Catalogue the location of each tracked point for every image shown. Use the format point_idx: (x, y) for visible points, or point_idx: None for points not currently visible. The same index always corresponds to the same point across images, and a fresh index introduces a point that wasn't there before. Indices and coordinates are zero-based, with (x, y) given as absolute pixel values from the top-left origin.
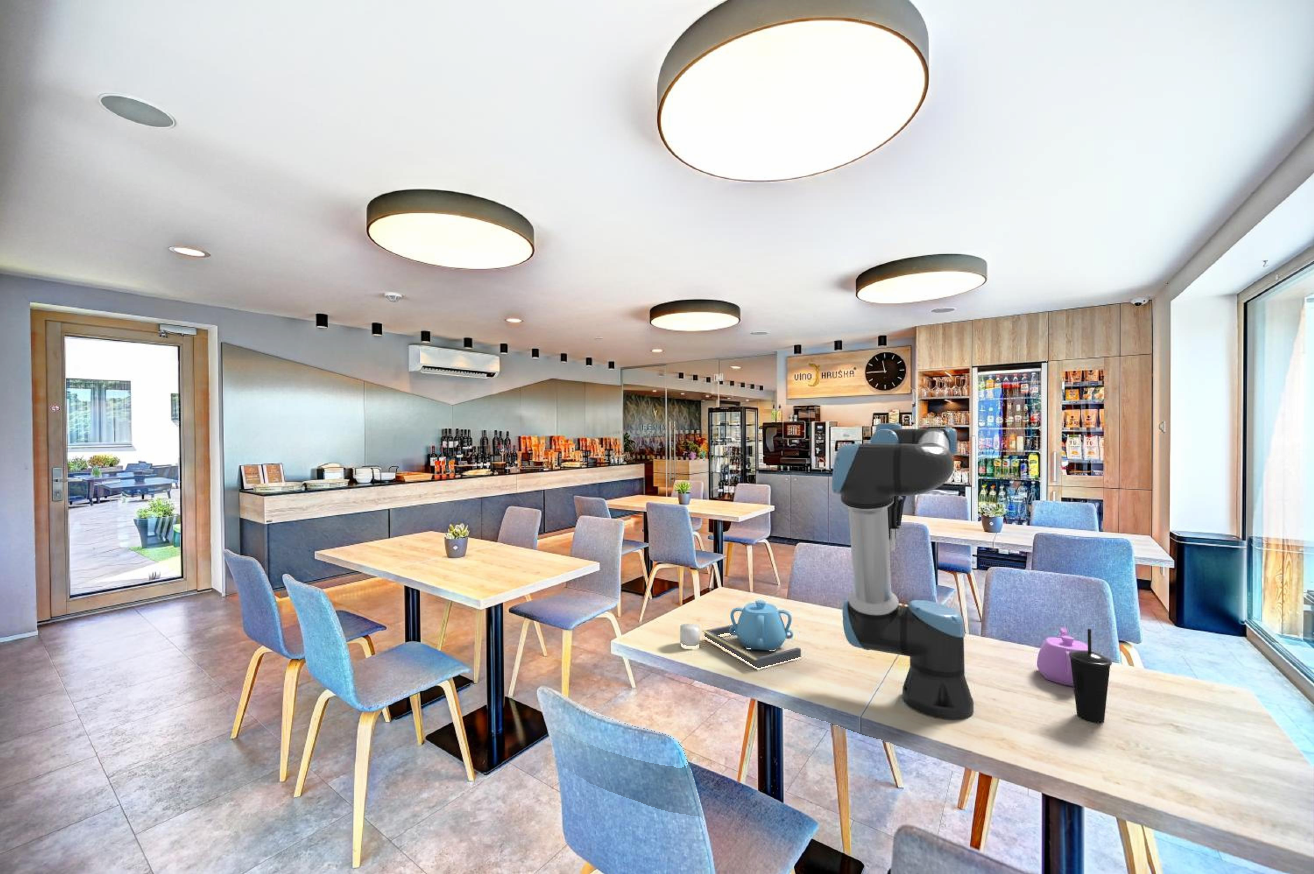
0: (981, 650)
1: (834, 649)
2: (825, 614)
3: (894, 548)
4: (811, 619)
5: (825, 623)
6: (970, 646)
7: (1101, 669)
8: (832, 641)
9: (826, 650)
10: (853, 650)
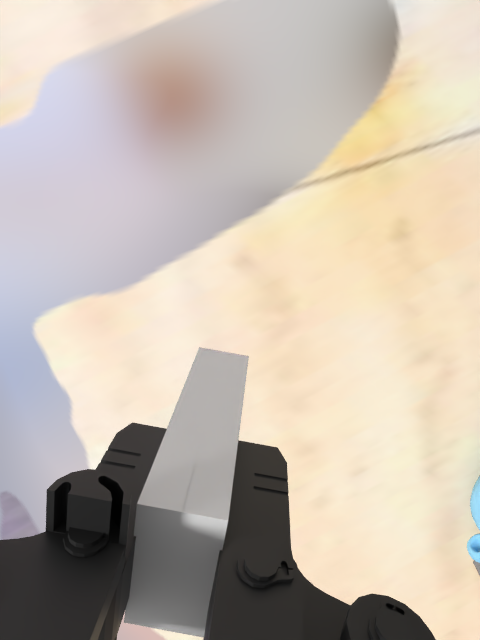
0: (43, 2)
1: (419, 335)
2: None
3: (209, 357)
4: None
5: None
6: (39, 50)
7: None
8: (360, 373)
9: (444, 346)
10: (384, 294)
